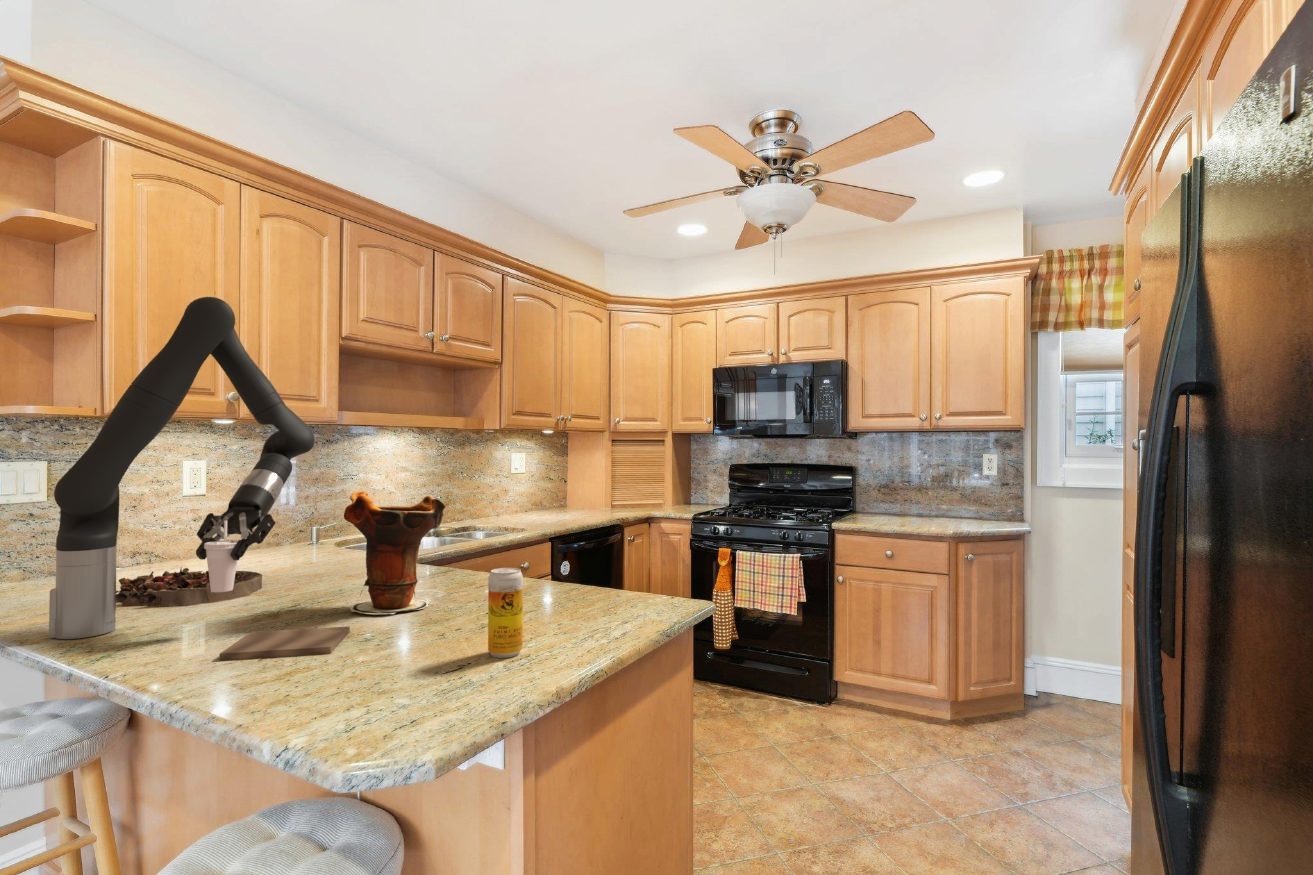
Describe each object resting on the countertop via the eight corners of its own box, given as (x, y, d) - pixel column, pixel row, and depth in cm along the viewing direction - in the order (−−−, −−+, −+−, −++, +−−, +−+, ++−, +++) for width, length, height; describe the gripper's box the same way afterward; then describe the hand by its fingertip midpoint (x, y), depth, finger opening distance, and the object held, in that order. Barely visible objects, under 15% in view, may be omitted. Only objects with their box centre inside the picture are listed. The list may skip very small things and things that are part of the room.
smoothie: (248, 587, 134) (249, 519, 135) (224, 594, 128) (226, 522, 128) (219, 586, 135) (220, 519, 135) (194, 593, 128) (196, 522, 129)
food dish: (92, 599, 167) (93, 569, 168) (238, 581, 193) (239, 555, 193) (123, 617, 145) (124, 582, 145) (284, 594, 170) (284, 564, 170)
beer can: (492, 660, 114) (492, 574, 114) (484, 651, 119) (484, 569, 119) (526, 655, 116) (526, 571, 117) (517, 646, 122) (517, 566, 122)
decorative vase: (458, 607, 153) (458, 490, 153) (356, 623, 138) (357, 494, 139) (425, 593, 168) (426, 487, 169) (331, 606, 154) (332, 490, 154)
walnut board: (219, 660, 114) (219, 653, 114) (251, 638, 128) (251, 631, 128) (330, 653, 118) (330, 646, 118) (349, 632, 132) (349, 626, 132)
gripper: (216, 482, 140) (171, 545, 128) (282, 483, 139) (243, 546, 127) (233, 505, 145) (191, 567, 133) (296, 506, 144) (260, 569, 132)
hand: (217, 557), depth 130 cm, fingers closed on smoothie, 6 cm apart
